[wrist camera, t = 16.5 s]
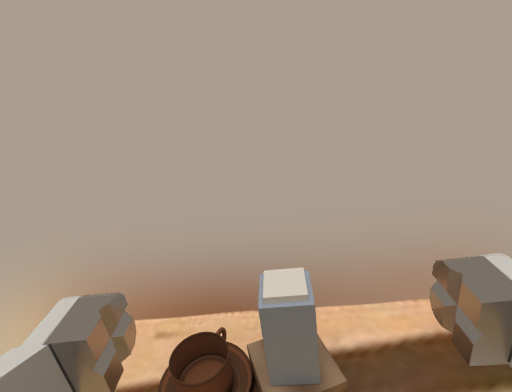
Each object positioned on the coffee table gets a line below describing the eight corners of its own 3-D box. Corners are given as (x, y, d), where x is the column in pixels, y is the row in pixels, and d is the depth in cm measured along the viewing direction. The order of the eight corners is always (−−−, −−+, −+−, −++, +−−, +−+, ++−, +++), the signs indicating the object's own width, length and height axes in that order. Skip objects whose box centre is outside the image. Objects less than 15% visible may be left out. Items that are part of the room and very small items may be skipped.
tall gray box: (314, 342, 39) (308, 264, 35) (320, 383, 34) (314, 298, 29) (270, 345, 39) (259, 268, 35) (270, 386, 34) (257, 302, 30)
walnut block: (312, 349, 44) (310, 322, 42) (347, 410, 36) (346, 380, 34) (252, 371, 42) (246, 345, 40) (275, 441, 34) (269, 412, 32)
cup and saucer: (176, 352, 46) (166, 321, 44) (255, 347, 45) (250, 315, 43) (147, 443, 35) (132, 408, 33) (252, 439, 34) (244, 403, 32)
